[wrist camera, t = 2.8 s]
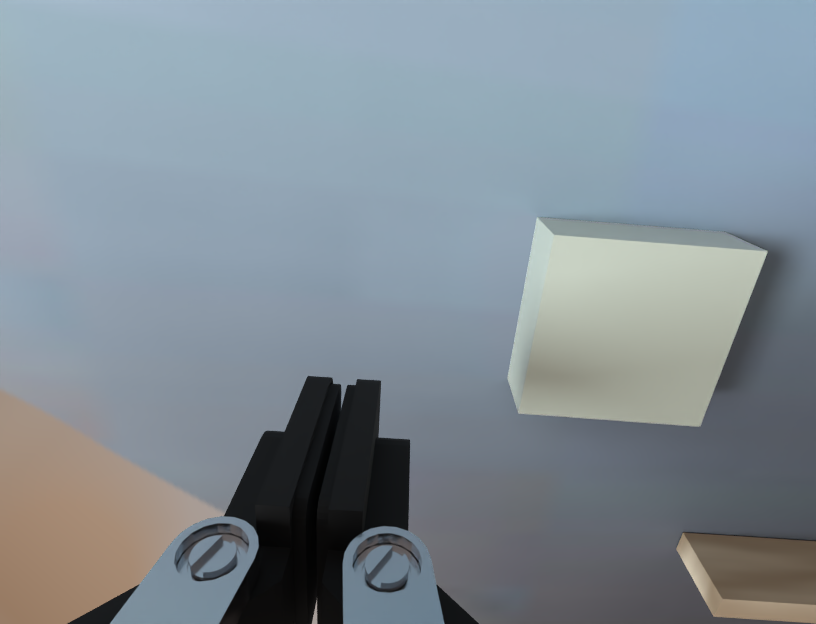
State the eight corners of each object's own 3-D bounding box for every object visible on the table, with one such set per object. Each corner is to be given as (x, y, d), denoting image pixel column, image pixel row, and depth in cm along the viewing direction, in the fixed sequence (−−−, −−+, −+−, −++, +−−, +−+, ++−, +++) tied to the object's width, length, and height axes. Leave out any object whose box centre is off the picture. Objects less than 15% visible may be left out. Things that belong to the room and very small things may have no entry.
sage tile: (534, 214, 16) (553, 234, 14) (718, 228, 16) (768, 251, 14) (506, 373, 18) (518, 413, 16) (665, 385, 18) (700, 426, 16)
